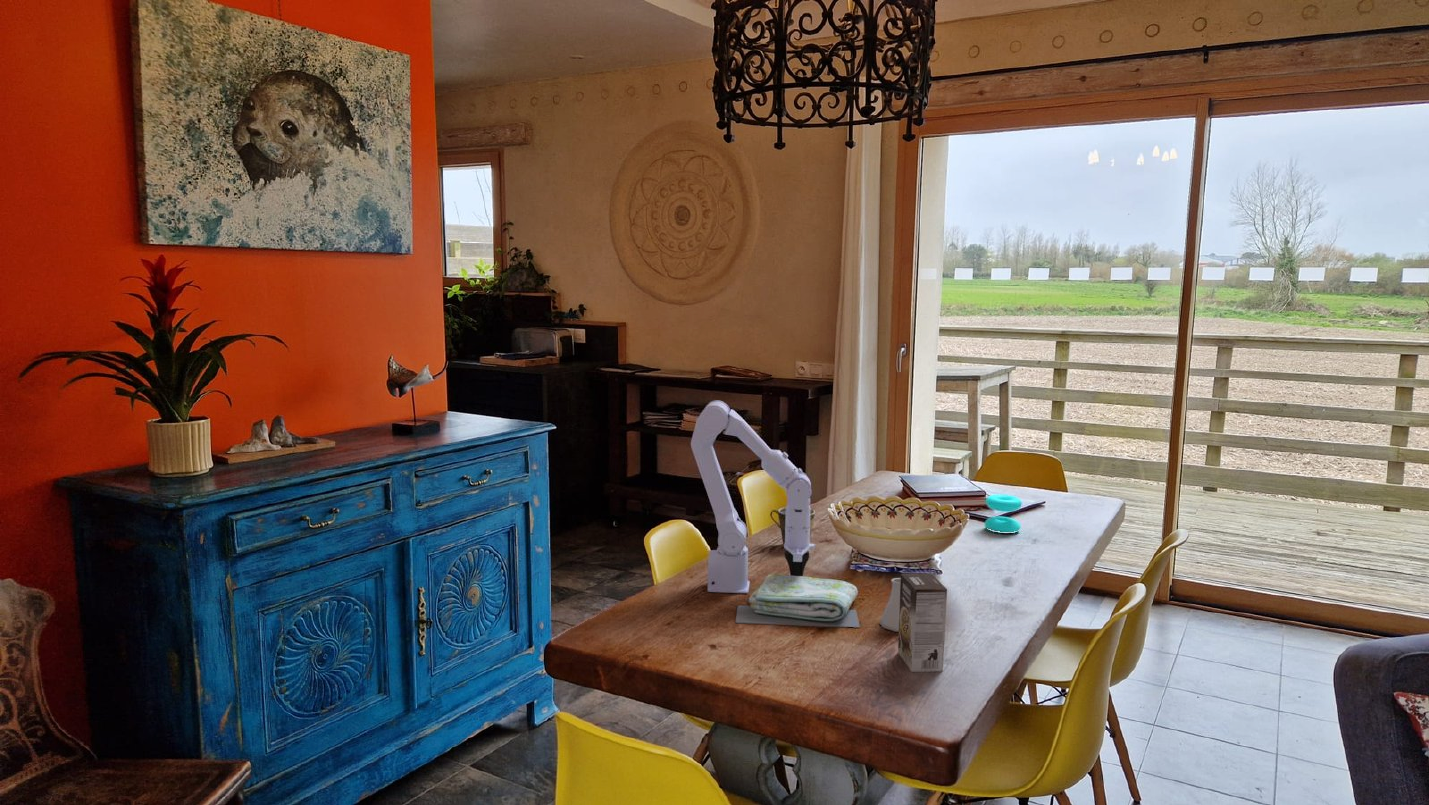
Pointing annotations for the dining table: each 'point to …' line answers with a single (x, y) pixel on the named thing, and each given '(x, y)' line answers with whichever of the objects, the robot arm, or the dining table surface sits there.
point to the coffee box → (922, 622)
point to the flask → (892, 608)
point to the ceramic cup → (782, 520)
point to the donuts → (1006, 505)
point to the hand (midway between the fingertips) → (796, 582)
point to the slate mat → (793, 619)
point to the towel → (803, 597)
